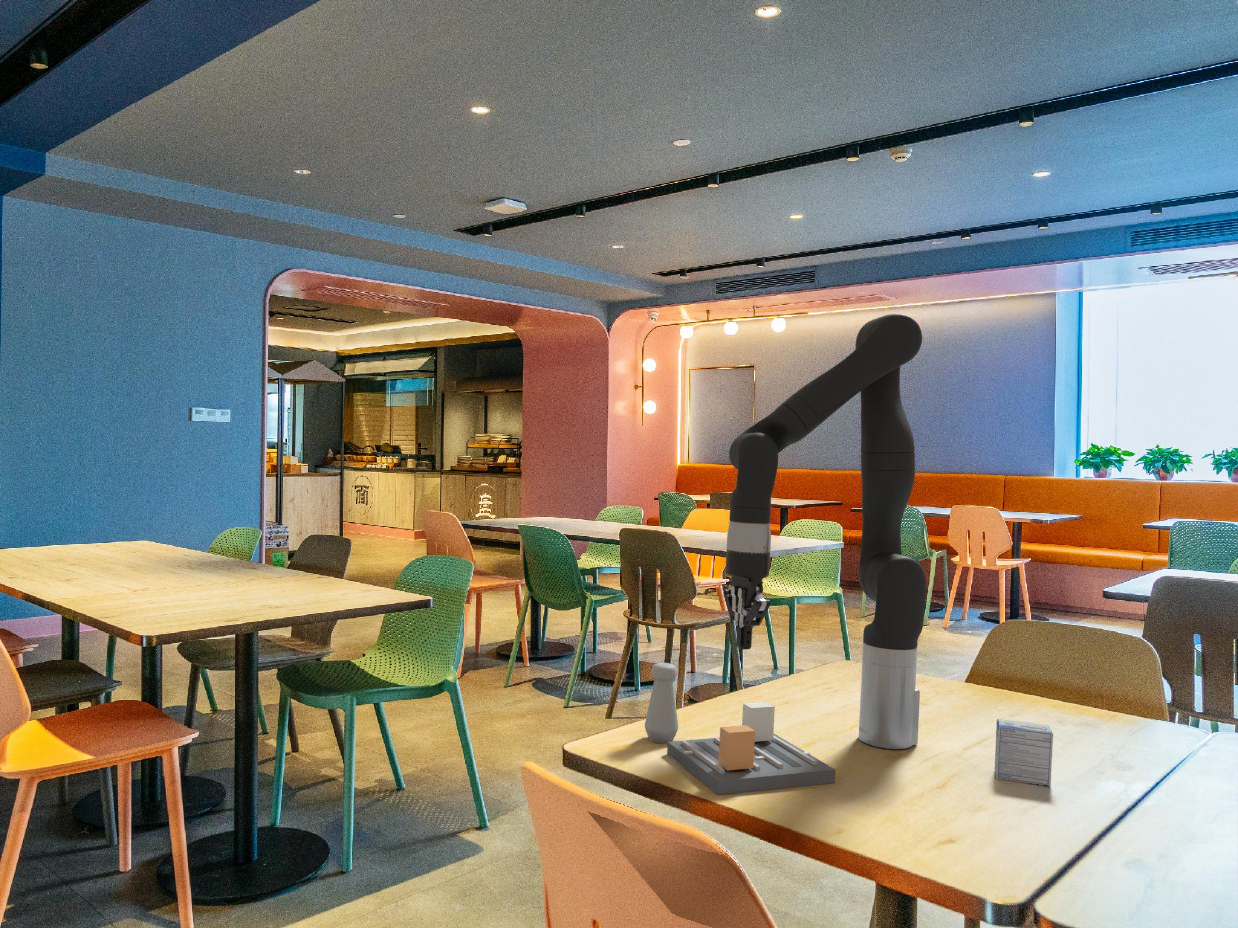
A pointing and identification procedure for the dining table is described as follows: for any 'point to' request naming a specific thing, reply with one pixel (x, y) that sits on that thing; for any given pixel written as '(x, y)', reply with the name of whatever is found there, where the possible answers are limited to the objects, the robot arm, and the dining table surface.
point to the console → (770, 769)
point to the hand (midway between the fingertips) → (743, 648)
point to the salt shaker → (662, 705)
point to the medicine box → (1023, 752)
